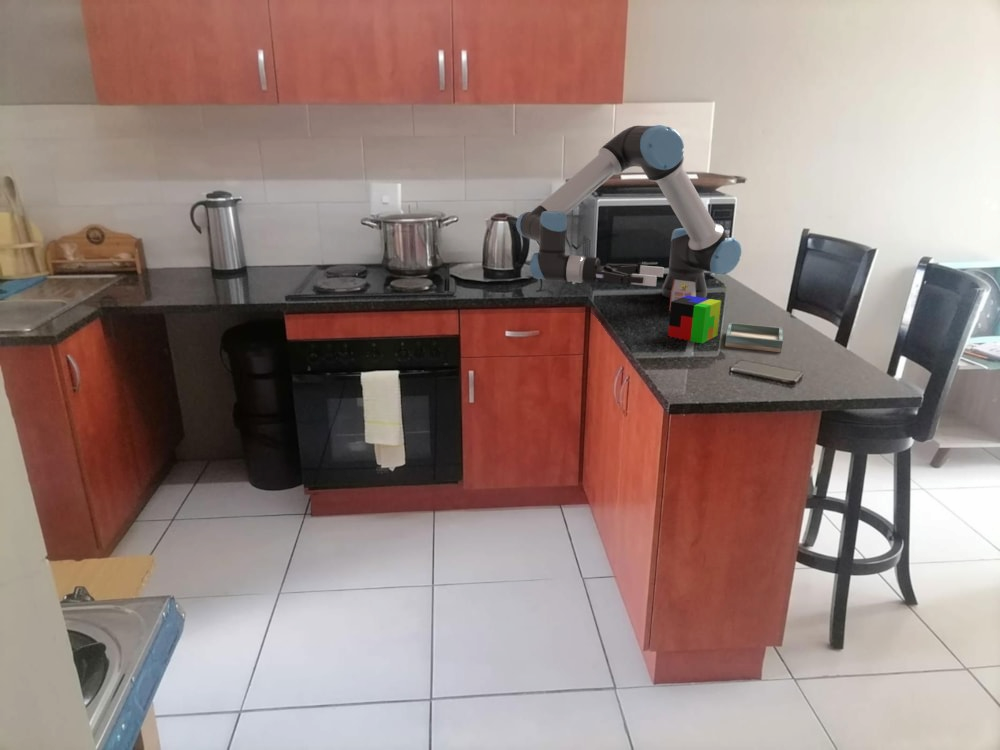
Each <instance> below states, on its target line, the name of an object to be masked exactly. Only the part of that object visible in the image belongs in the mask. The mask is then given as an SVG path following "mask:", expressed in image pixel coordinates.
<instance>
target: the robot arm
mask: <svg viewBox="0 0 1000 750" xmlns="http://www.w3.org/2000/svg"><path fill="white" fill-rule="evenodd" d="M684 145H685V143H684V141H683V137H682V136H681V134H680V133H679V132H678V131H677V130H676V129H674V128H672V127H671V126H666V125H661V124H657V125H656V124H655V125H634V126H631V127H628V128H625V129H624V130H622V131H621V132H619V133H618V134H616V135H615V136H613V138H611V139H610V140H609V141H607V143H605V144H604V145H603V146H602V147H600V148H599V150H598V155H596V156H595V157H594V158H593V159H592V160H590V162H588V163H587V164H586V165H585V166H584V167H582V168H581V169H580V170H579V171H578V172H576V173H575V174H574V175H573V176H572V177H571V178H569V179H567V181H566V182H565V183H564V184H562V185H561V186H560V187H559V188H558V189H556V190H555V191H554V192H553V193H552V194H550V195H549V196H548V197H547V198H546V199H545V200H544V201H542V202H541V203H540V204H539V205H538V206H537V207H535V208H534V209H533V210H532V211H525V212H523V213H521V214H520V215H519V216H518V218H517V219H516V222H515V226H516V230H517V232H518V234H519V235H520V236H522V237H524V238H525V239H528V240H533V241H536V242H539V250H538V252H535V253H533V254H532V255H531V259H530V263H529V269H530V270H529V271H530V274H531V277H533V279H538V280H539V279H540V280H545V281H553V282H555V281H556V282H567V283H570V282H572V283H571V284H573V285H576V283H579V284H580V283H581V284H582V283H584V284H585V285H586V284H587V285H588V284H589V285H597V283H598V282H599V281H602V282H606V283H607V282H608V283H611V284H615V285H622V286H626V288H630V287H631V285H638V286H647V287H648V286H649V287H656V286H657V279H658V278H664V272H665V271H664V270H665V267H663V266H652V265H650V266H649V265H642V262H637V263H609V262H608V263H605V265H601V260H600V258H599V257H593V256H592V257H591V256H586V257H585V256H583V255H571V254H569V255H568V254H566V246H567V245H566V243H567V232H568V224H567V223H568V216H567V215H568V214H569V213H571V211H573V210H574V209H575V208H576V207H577V206H578V205H580V204H581V203H582V202H583V201H584V200H586V199H587V198H588V197H589V196H590V195H591V194H593V193H594V192H595V191H596V190H597V189H599V187H601V186H602V185H603V184H604V183H606V182H607V181H608V180H609V179H610V178H611V177H612V176H614V175H616V176H619V175H621V173H622V172H624V171H625V170H627V169H629V168H632V167H638V168H641V170H642V171H643V173H644V174H645V176H646V177H647V179H648V181H649V182H650V181H651V182H655V183H656V184H657V185H658V186H659V188H660V191H661V193H663V195H664V197H665V199H666V200H667V202H668V204H669V206H670V207H671V209H672V211H673V213H674V214H675V215H676V218H677V219H678V220H679V222H680V224H681V226H682V227H680V228H674V230H673V231H672V233H671V239H670V251H669V252H670V253H669V261H668V262H669V264H668V265H669V266H668V273H667V275H666V276H665V277H666V278H665V280H664V283H663V285H662V287H661V295H662V296H663V297H665V298H669V299H670V296H671V291H672V287H673V282H674V280H682V281H690V282H695V288H696V297H701V298H707V296H708V287H707V283H706V279H705V274H704V273H705V272H708V273H710V274H711V273H712V274H714V275H720V276H721V275H727V274H729V273H731V272H733V271H734V269H735V268H736V267H737V266H738V264H739V262H740V260H741V259H740V258H741V256H742V246H741V243H740V242H739V241H738V240H737V239H736V238H733V237H729V236H728V234H727V232H726V231H725V228H724V227H723V225H721V224H720V223H715V221H714V219H713V217H712V216H711V215H710V213H709V211H708V209H707V207H706V206H705V203H704V202H703V200H702V199H701V196H700V194H699V193H698V191H697V190H696V187H695V185H694V184H693V182H692V181H691V179H690V177H689V175H688V173H687V172H686V169H685V168H684V165H683V164H684V161H685V157H684V149H685V148H684V147H685V146H684Z"/></svg>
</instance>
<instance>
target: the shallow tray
mask: <svg viewBox="0 0 1000 750" xmlns="http://www.w3.org/2000/svg"><path fill="white" fill-rule="evenodd" d="M783 339H784V338H783V327H782V326H769V325H759V324H750V323H749V324H748V323H739V322H728V327H727V330H726V334H725V342H724V347H726V348H738V349H747V350H757V351H765V352H766V351H767V352H775V353H776V352H777V353H782V347H783V342H784V341H783Z"/></svg>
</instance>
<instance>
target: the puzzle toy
mask: <svg viewBox="0 0 1000 750" xmlns="http://www.w3.org/2000/svg"><path fill="white" fill-rule="evenodd" d="M721 305H722V300H719V299H718V300H717V299H712V298H707V297H706V298H701V297H694V296H688V295H687V296H684V297H682V298H679V299H677V300H674V301H672V302H671V309H670V312H669V320H668V321H669V322H668V323H669V324H668V331H667V332H668V333H667V337H668V336H670V337H669V338H672V337H675V338H674V339H677V338H679V339H678V340H682V339H684V340H683V341H687V340H688V342H693V343H697V344H704V343H705V342H708V341H710V340H712V339H714V338H715V337H717V336H718V334H719V333H718V331H719V324H720V323H719V322H720V316H721V315H720V314H721Z"/></svg>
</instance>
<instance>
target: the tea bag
mask: <svg viewBox="0 0 1000 750" xmlns="http://www.w3.org/2000/svg"><path fill="white" fill-rule="evenodd" d="M687 295H688V296H694V297H696V288H695V282H690V281H682V280H674V282H673V287H672V291H671V296H670V298H669V310H668V312H669V311H670V309H671V302H672V301H674V300H677V299H679V298H682V297H684V296H687Z"/></svg>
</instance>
